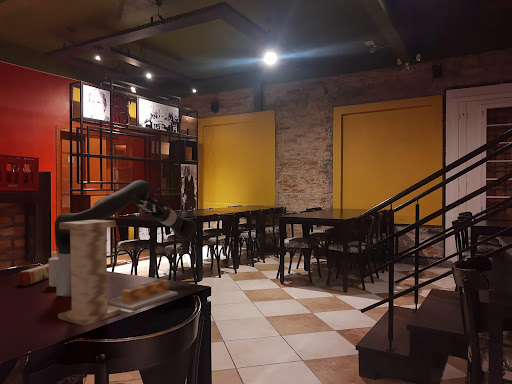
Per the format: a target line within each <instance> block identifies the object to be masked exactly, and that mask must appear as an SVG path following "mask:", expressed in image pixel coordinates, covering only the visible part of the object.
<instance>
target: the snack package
mask: <svg viewBox="0 0 512 384" xmlns="http://www.w3.org/2000/svg"><path fill="white" fill-rule="evenodd" d="M46 279H49V263H46V264H42V265H39V266H36V267H32V268H29V269H26V270H21V271H20V272H19V273H18V276H17V281H18V283H19V285H21V286H30V285H29V284H31V285H33V284H36V283H38V282H40V281H43V280H46Z"/></svg>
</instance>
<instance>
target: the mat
mask: <svg viewBox="0 0 512 384" xmlns="http://www.w3.org/2000/svg"><path fill="white" fill-rule="evenodd" d="M178 294H179V293H178V292H177V291H173V290H169V289H168V290H167V291H164V292H161V293H157V294H154V295H151V296H148V297H145V298H142V299H138V300H135V301H132V302H129V303H128V302H124V301H122V295H120V296H119V295H118V296H116V297H112V298H110V299H107V305H110V306H114V307H118V308H123V309H127V310H131V311H134V310H137V309H141V308H143V307H146V306H150V305H152V304H155V303H159V302H160V301H163V300H166V299H170V298H172V297H175V296H178Z"/></svg>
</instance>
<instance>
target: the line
mask: <svg viewBox="0 0 512 384" xmlns="http://www.w3.org/2000/svg"><path fill="white" fill-rule="evenodd" d="M107 306H110V305H107ZM110 307H114V306H110ZM114 308H119V307H114ZM119 309H121V312H125V313H127V314H133V313H135V311H134V310H127V309H123V308H119ZM132 312H133V313H132Z"/></svg>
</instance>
